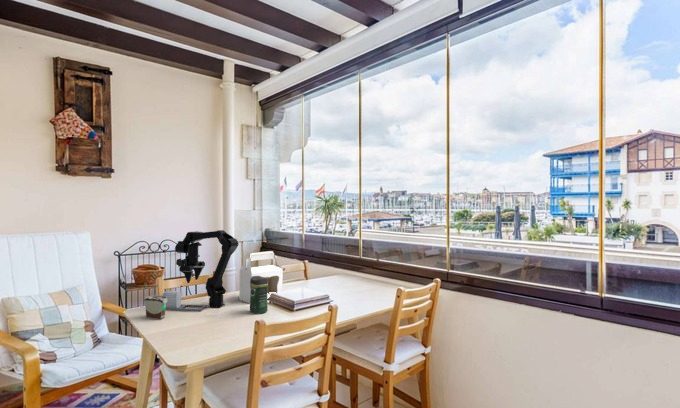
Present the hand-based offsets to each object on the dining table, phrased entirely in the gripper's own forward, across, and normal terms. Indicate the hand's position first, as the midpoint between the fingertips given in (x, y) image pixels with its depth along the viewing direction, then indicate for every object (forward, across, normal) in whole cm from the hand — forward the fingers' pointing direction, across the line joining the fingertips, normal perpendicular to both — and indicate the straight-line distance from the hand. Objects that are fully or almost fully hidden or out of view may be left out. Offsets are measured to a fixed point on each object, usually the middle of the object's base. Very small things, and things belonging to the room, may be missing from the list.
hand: (192, 281), depth 206 cm
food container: (+13, +26, -4) cm, 29 cm away
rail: (+12, +11, 0) cm, 17 cm away
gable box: (+13, -16, +35) cm, 41 cm away
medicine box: (+12, +11, -6) cm, 18 cm away
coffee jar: (+13, +11, +42) cm, 45 cm away
